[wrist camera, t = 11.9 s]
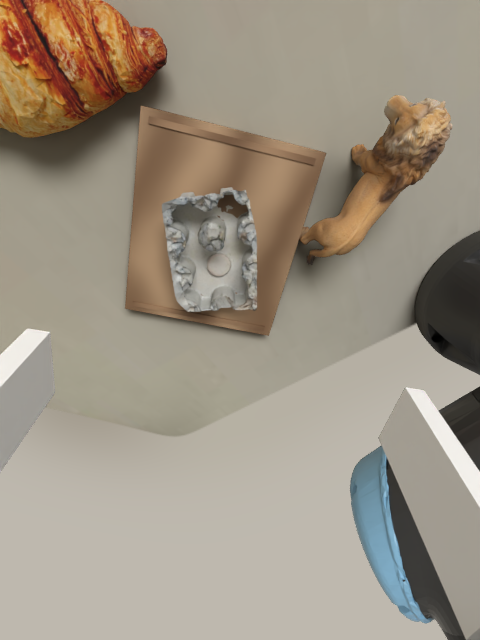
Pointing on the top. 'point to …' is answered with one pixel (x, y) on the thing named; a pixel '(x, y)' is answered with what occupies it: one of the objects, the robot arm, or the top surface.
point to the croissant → (69, 62)
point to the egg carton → (211, 252)
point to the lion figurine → (384, 172)
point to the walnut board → (209, 177)
